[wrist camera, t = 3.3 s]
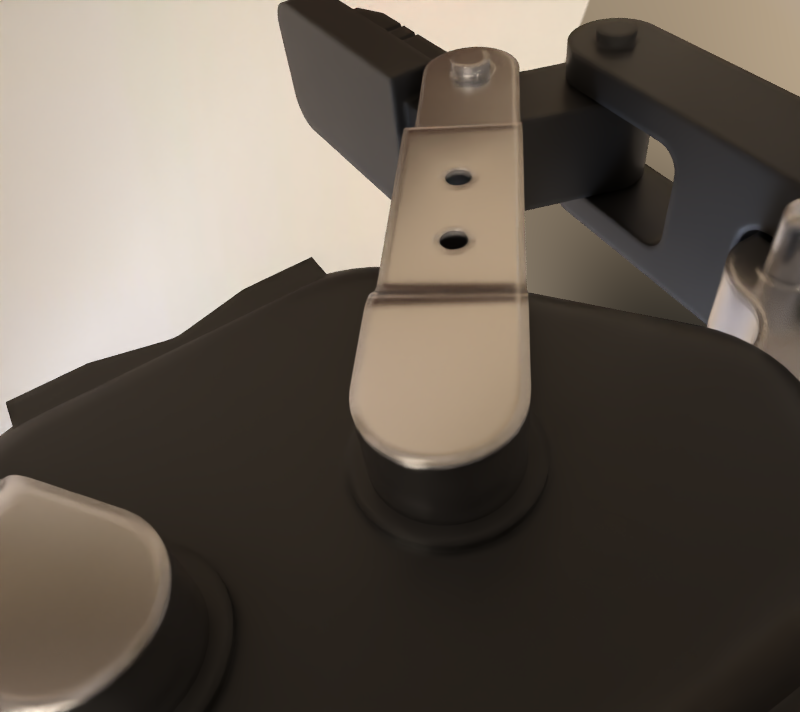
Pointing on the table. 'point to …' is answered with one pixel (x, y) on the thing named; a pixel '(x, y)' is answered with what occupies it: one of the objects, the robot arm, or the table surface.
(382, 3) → the table surface
